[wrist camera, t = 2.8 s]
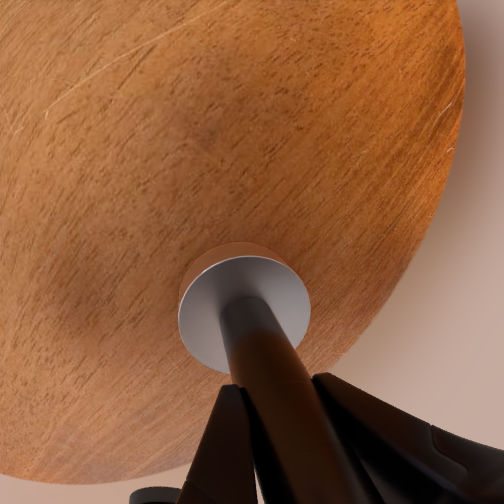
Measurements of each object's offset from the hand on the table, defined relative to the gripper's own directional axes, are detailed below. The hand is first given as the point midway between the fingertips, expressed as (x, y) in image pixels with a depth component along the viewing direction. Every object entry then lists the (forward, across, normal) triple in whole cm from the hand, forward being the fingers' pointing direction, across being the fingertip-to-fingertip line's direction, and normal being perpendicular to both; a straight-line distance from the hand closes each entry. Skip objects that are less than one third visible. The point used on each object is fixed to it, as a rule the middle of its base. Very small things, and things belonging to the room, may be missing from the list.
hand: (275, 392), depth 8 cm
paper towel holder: (+6, 0, 0) cm, 6 cm away
